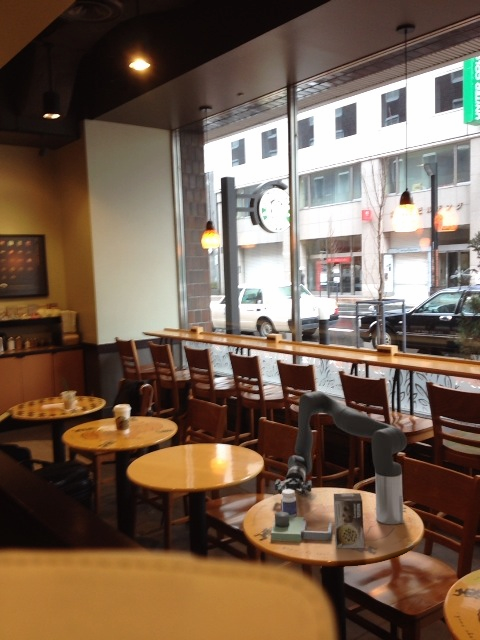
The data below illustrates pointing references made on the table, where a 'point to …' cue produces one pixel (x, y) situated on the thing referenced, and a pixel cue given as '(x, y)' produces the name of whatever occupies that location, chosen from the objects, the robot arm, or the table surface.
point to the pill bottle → (289, 502)
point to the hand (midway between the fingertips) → (291, 492)
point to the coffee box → (348, 520)
